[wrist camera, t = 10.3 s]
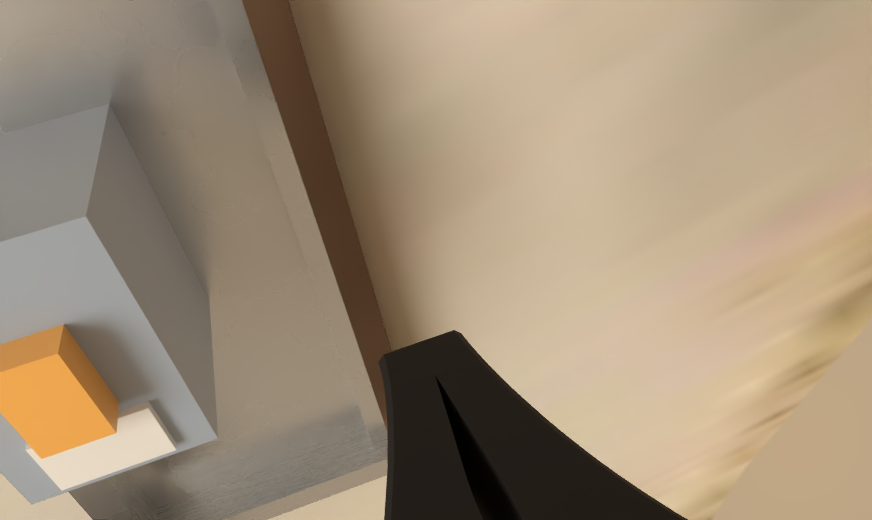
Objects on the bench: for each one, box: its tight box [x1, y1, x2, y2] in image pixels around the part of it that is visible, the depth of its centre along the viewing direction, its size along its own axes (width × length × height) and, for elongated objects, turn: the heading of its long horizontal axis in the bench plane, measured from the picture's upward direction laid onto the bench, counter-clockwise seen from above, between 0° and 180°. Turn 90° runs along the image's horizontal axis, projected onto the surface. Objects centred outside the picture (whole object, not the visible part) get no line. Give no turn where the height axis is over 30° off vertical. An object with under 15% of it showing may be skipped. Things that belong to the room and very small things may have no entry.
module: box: [0, 104, 218, 504], centre depth 14 cm, size 4×6×6 cm, turn 9°
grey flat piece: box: [0, 0, 388, 520], centre depth 17 cm, size 9×22×2 cm, turn 9°
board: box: [242, 0, 392, 429], centre depth 18 cm, size 11×26×1 cm, turn 9°
